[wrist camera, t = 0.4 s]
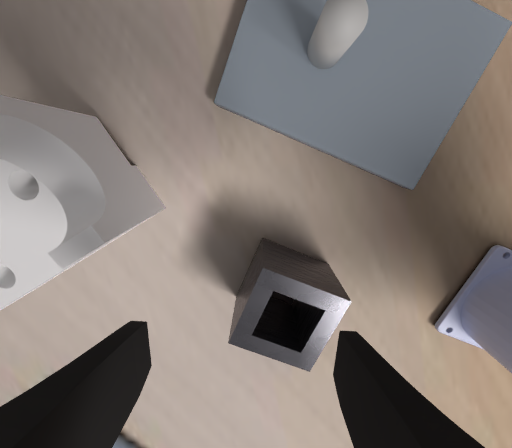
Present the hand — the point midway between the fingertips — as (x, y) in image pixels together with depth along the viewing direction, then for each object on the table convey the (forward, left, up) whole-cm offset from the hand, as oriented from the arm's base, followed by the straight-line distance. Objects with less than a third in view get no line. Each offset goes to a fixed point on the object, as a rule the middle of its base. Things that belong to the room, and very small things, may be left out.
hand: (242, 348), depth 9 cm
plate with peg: (-1, -13, -10) cm, 17 cm away
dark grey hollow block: (-3, +2, -10) cm, 10 cm away
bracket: (+14, +3, -10) cm, 17 cm away
